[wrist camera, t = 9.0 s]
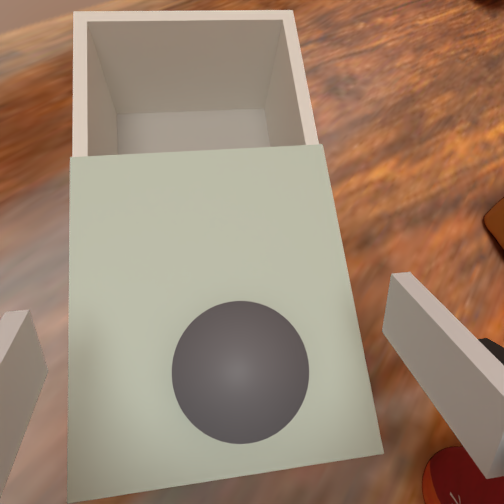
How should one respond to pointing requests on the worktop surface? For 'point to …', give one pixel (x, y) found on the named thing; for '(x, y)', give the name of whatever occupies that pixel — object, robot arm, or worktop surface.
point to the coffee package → (496, 221)
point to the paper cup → (459, 480)
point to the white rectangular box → (188, 82)
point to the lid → (209, 321)
